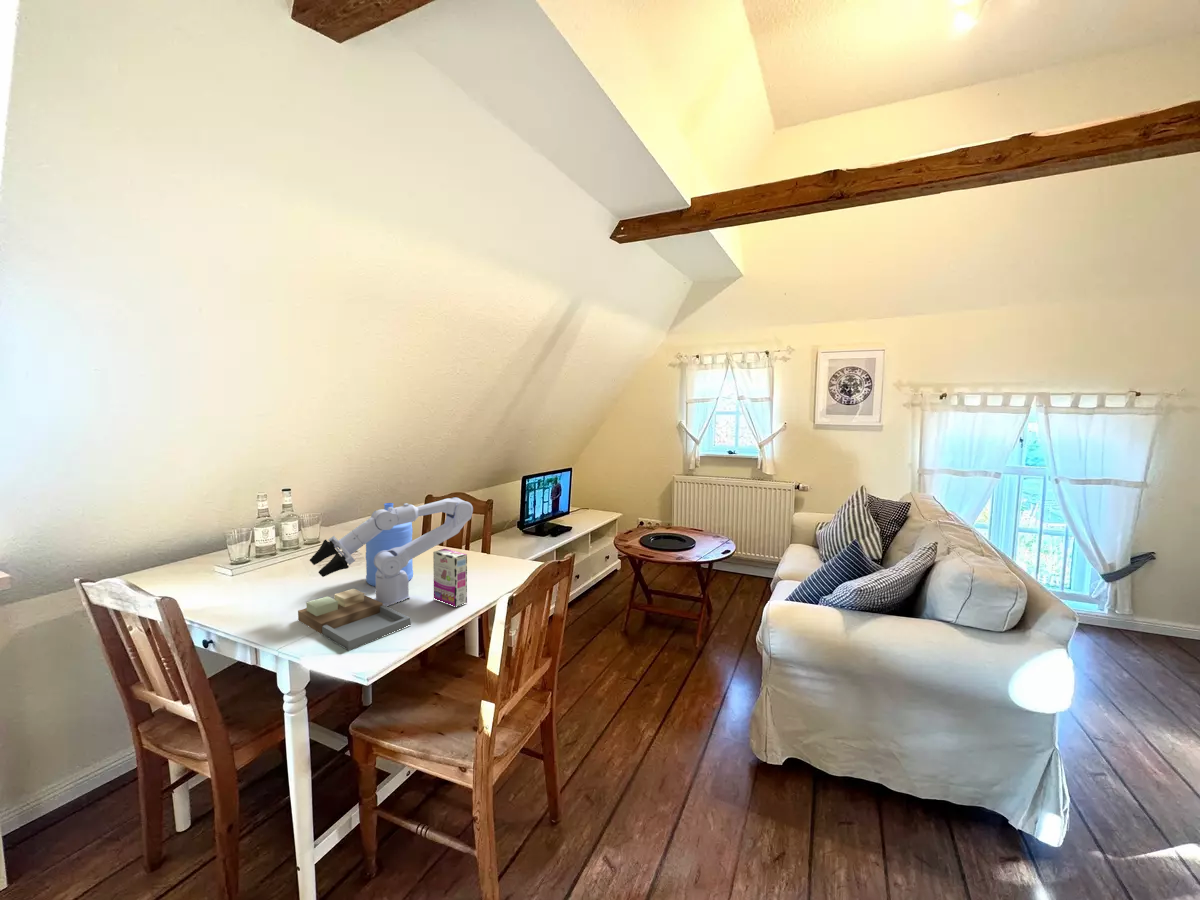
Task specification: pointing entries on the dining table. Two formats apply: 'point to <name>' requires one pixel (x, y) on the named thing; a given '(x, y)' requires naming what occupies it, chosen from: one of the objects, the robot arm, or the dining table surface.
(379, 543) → the water jug
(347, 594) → the ash block
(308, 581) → the dining table surface
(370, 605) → the walnut board
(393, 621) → the tray
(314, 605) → the sage tile
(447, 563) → the candy bar box
